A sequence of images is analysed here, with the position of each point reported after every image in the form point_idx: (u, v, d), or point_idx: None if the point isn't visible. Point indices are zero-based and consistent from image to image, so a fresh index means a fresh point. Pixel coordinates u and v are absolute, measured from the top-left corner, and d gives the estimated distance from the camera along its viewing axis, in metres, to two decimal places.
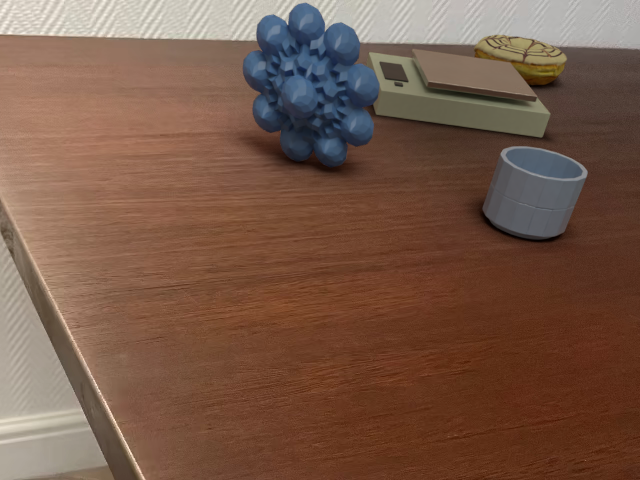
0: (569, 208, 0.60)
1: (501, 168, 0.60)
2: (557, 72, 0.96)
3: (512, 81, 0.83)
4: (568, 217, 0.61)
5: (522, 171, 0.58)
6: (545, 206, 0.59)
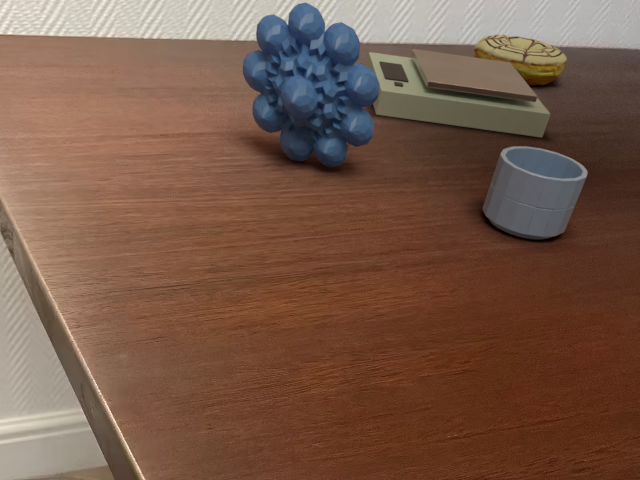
0: (569, 208, 0.60)
1: (501, 168, 0.60)
2: (557, 72, 0.96)
3: (512, 81, 0.83)
4: (568, 217, 0.61)
5: (522, 171, 0.58)
6: (545, 206, 0.59)
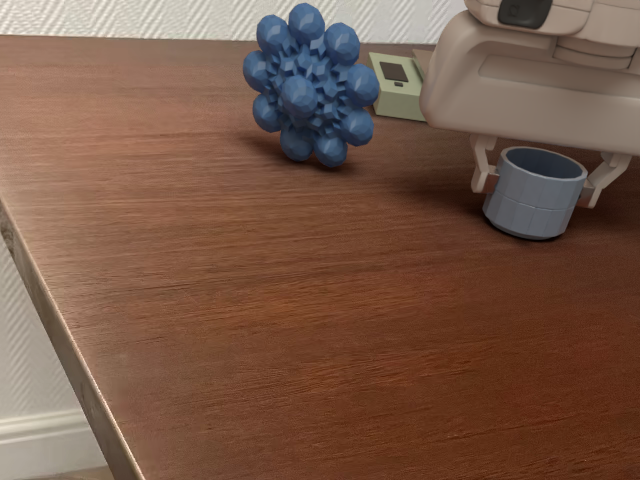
0: (569, 208, 0.60)
1: (501, 168, 0.60)
2: None
3: None
4: (568, 217, 0.61)
5: (522, 171, 0.58)
6: (545, 206, 0.59)
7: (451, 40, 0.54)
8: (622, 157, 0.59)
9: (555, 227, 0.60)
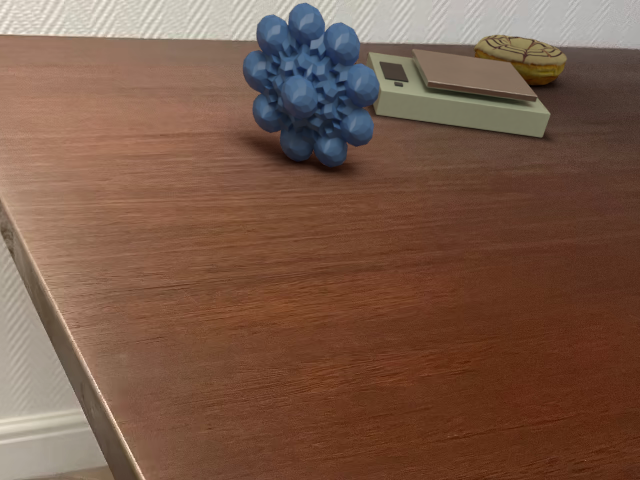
0: None
1: None
2: (557, 72, 0.96)
3: (512, 81, 0.83)
4: None
5: None
6: None
7: None
8: None
9: None
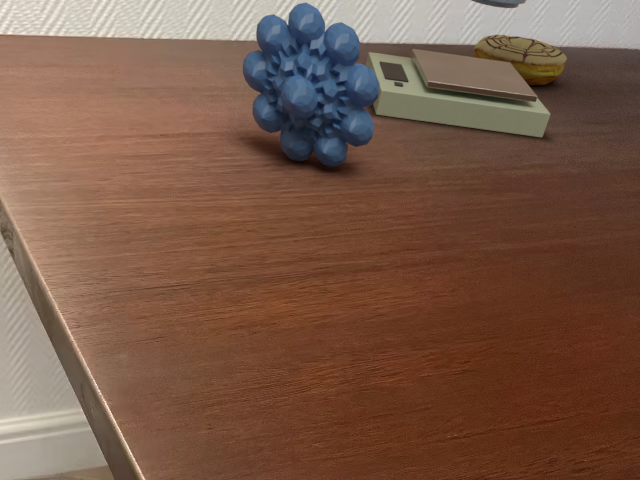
0: None
1: None
2: (557, 72, 0.96)
3: (512, 81, 0.83)
4: None
5: None
6: None
7: None
8: None
9: None
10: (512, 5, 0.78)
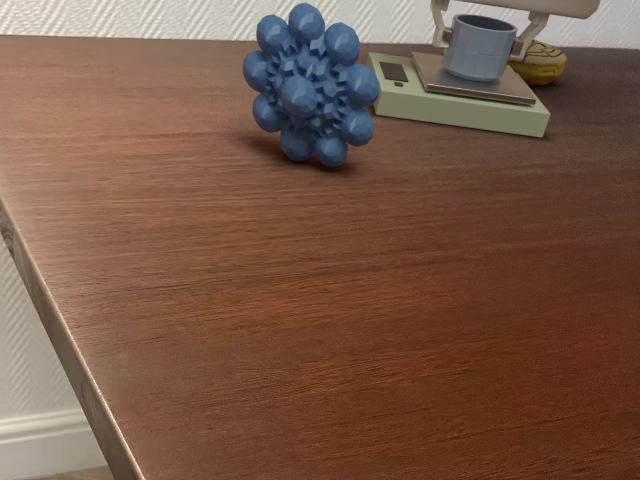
0: (504, 56, 0.81)
1: (453, 26, 0.81)
2: (557, 72, 0.96)
3: (511, 84, 0.83)
4: (504, 64, 0.82)
5: (468, 25, 0.79)
6: (485, 52, 0.80)
7: None
8: (542, 16, 0.80)
9: (494, 70, 0.81)
10: (490, 79, 0.83)
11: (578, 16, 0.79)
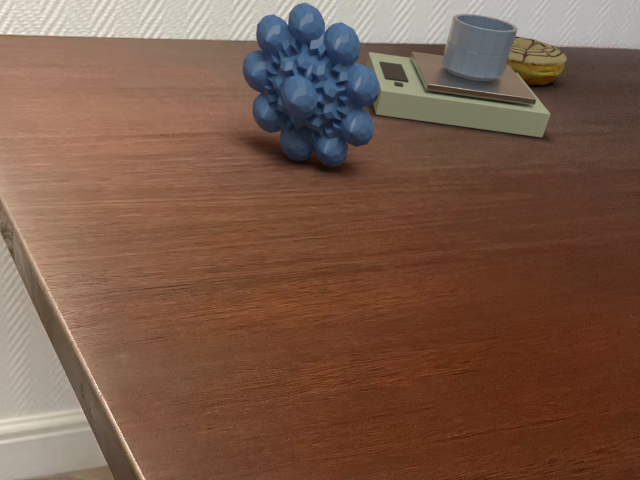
0: (503, 56, 0.81)
1: (453, 26, 0.81)
2: (557, 72, 0.96)
3: (511, 84, 0.83)
4: (504, 64, 0.82)
5: (468, 25, 0.79)
6: (485, 52, 0.80)
7: None
8: None
9: (494, 70, 0.81)
10: (490, 79, 0.83)
11: None
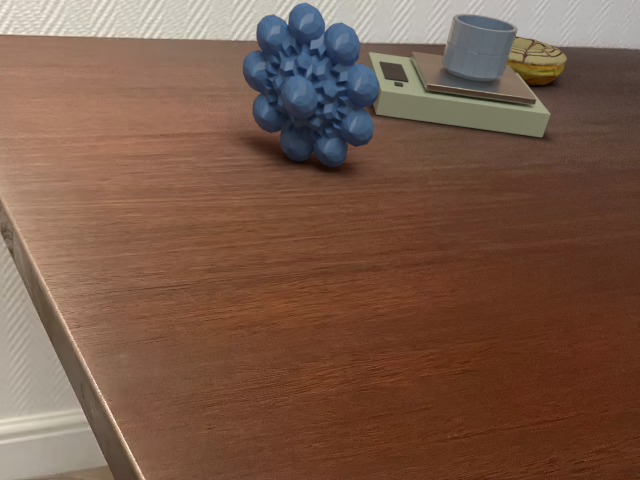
0: (503, 56, 0.81)
1: (453, 26, 0.81)
2: (557, 73, 0.96)
3: (511, 84, 0.83)
4: (504, 64, 0.82)
5: (468, 25, 0.79)
6: (485, 52, 0.80)
7: None
8: None
9: (494, 70, 0.81)
10: (490, 79, 0.83)
11: None
